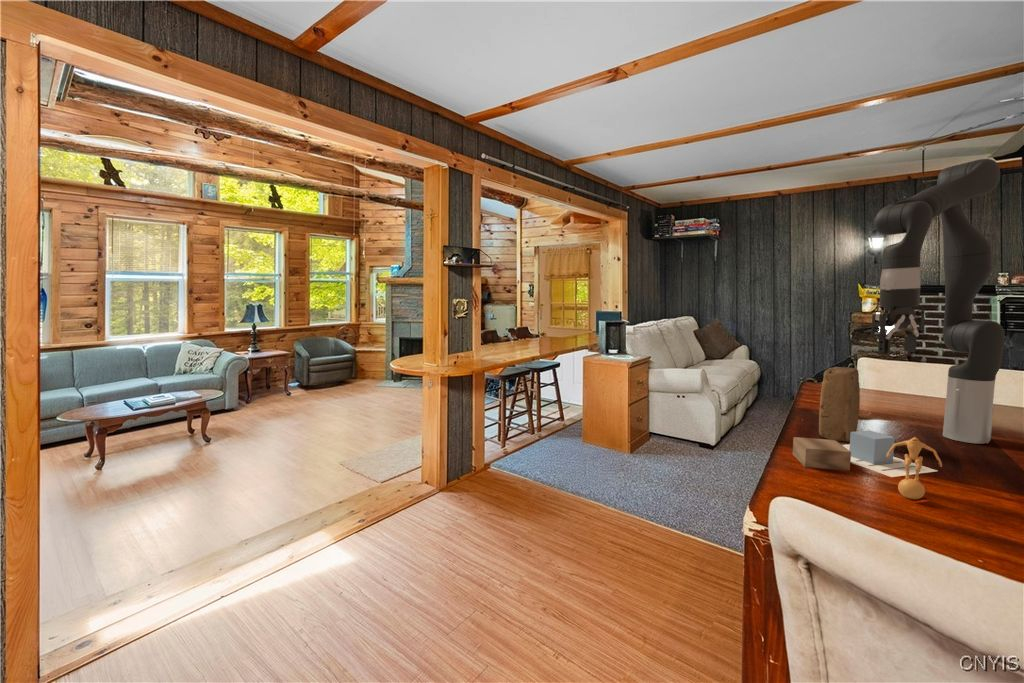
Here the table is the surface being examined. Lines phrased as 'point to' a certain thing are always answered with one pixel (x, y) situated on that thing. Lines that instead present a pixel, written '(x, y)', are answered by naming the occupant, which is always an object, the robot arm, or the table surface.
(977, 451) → the table surface
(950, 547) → the table surface
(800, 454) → the walnut block
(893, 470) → the letter
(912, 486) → the figurine
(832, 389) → the block
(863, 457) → the slate cube
